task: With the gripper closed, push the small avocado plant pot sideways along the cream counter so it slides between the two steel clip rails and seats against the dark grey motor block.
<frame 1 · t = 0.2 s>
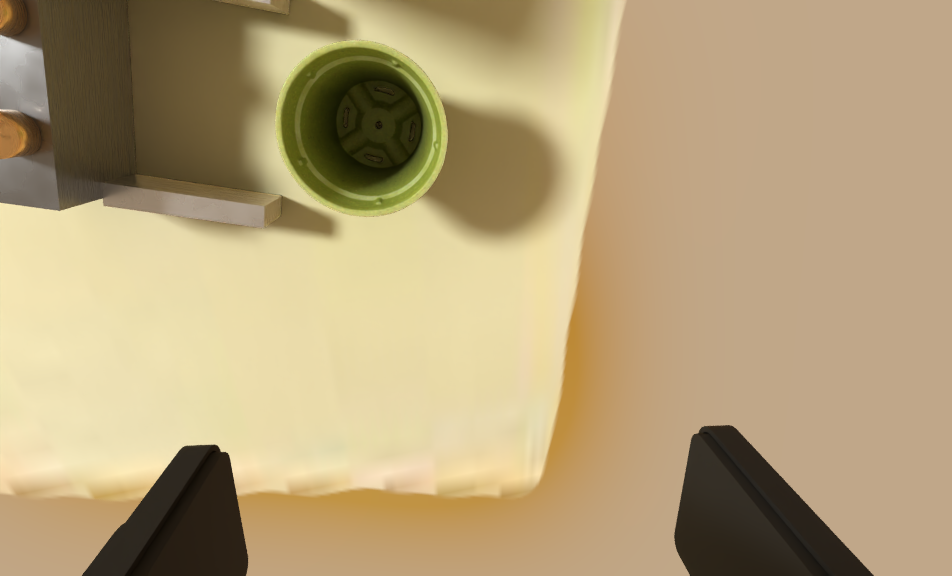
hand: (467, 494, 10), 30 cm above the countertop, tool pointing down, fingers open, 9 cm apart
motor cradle: (171, 91, 34), on the countertop
plant pot: (379, 126, 36), on the countertop
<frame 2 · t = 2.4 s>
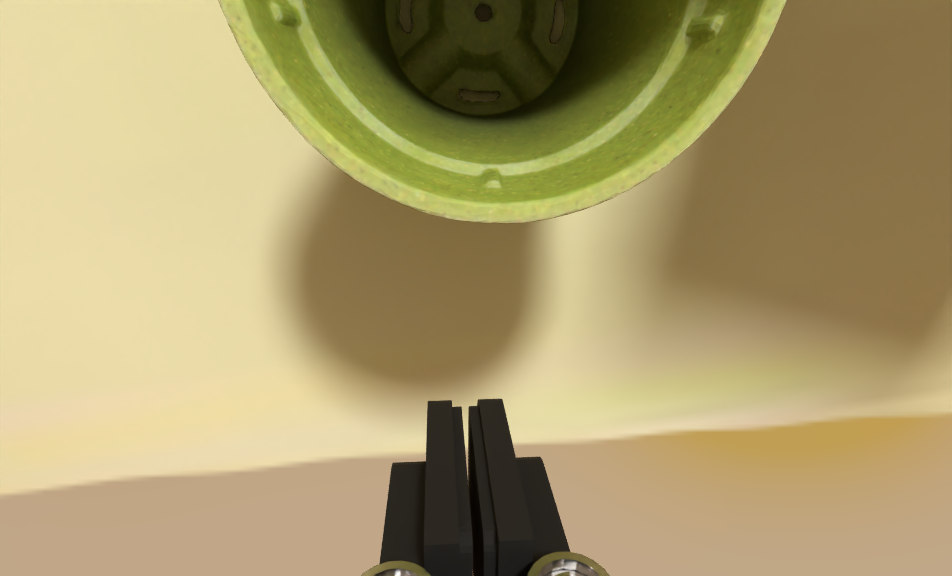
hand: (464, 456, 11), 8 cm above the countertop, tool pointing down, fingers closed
plant pot: (478, 16, 16), on the countertop
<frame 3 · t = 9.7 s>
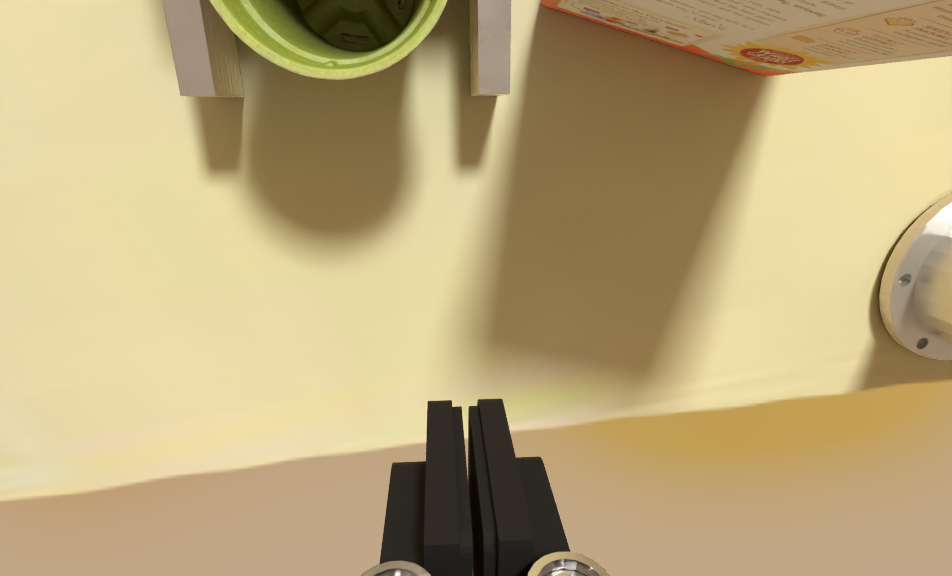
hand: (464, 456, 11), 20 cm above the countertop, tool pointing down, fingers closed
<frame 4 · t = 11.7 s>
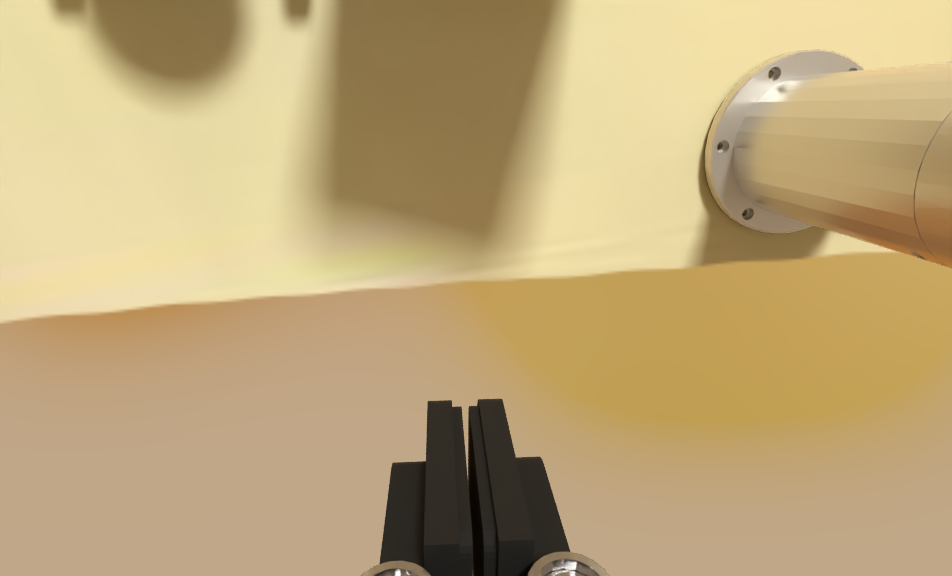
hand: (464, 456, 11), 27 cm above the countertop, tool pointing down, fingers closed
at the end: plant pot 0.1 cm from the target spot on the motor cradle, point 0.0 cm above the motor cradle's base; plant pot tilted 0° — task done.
